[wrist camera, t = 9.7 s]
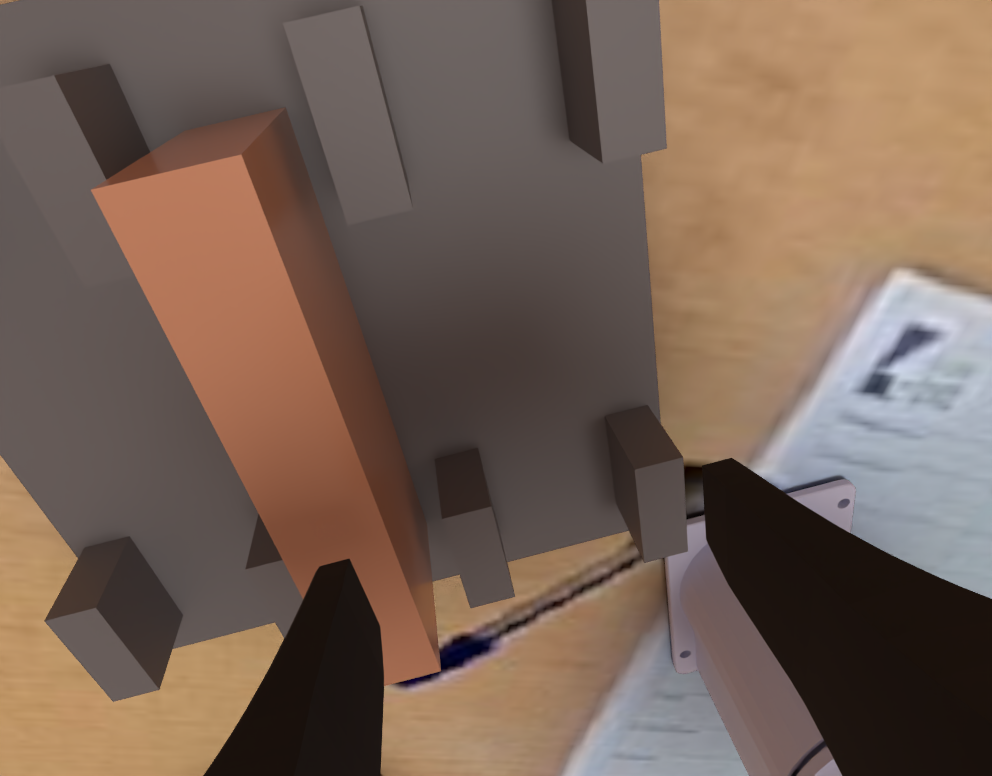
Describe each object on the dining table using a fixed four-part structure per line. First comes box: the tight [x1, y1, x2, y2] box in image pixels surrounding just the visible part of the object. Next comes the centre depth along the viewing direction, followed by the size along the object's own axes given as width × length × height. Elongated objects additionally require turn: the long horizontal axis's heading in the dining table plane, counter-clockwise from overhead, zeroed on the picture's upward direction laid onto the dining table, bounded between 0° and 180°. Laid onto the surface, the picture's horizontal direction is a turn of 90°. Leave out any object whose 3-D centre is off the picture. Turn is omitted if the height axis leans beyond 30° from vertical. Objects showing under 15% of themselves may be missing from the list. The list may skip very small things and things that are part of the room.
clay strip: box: [91, 107, 441, 686], centre depth 17 cm, size 14×2×6 cm, turn 11°
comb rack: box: [0, 0, 688, 702], centre depth 18 cm, size 20×20×4 cm
